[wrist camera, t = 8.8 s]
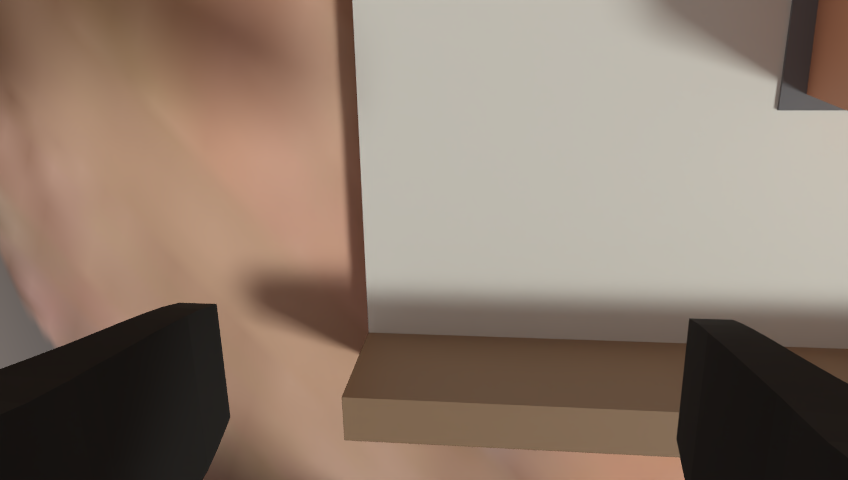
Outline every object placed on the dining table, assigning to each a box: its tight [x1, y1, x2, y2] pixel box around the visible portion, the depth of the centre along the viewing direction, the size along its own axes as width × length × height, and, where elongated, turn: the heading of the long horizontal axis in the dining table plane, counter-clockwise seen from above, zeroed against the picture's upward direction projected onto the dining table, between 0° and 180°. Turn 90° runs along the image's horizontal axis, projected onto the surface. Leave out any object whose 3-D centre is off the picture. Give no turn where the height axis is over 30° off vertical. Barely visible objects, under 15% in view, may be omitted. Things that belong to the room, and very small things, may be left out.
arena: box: [342, 0, 848, 457], centre depth 17 cm, size 16×20×4 cm
